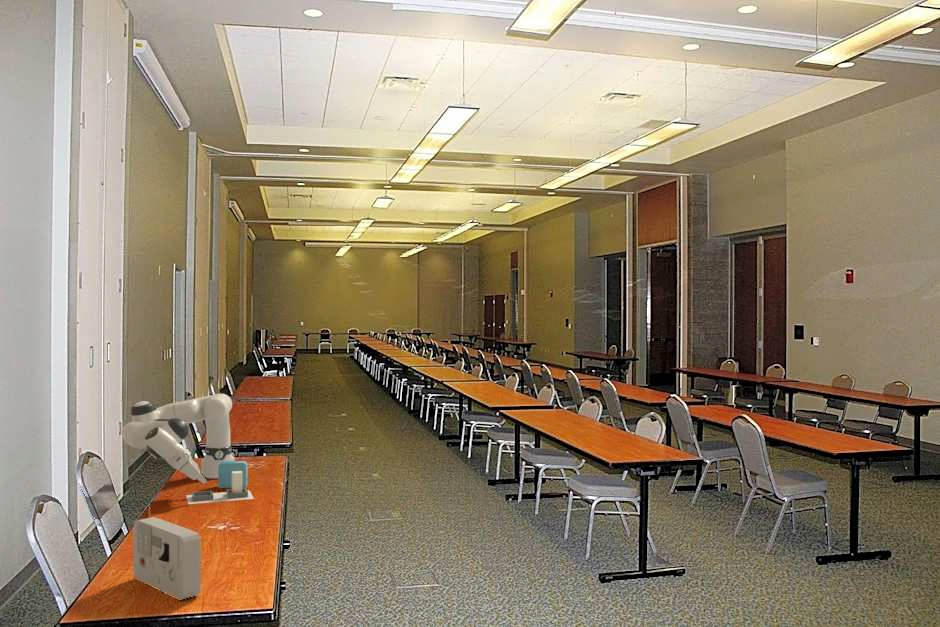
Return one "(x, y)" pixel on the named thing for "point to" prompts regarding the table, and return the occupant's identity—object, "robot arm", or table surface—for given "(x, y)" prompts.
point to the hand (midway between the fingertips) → (204, 480)
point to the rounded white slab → (167, 557)
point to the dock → (218, 496)
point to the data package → (226, 473)
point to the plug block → (237, 481)
